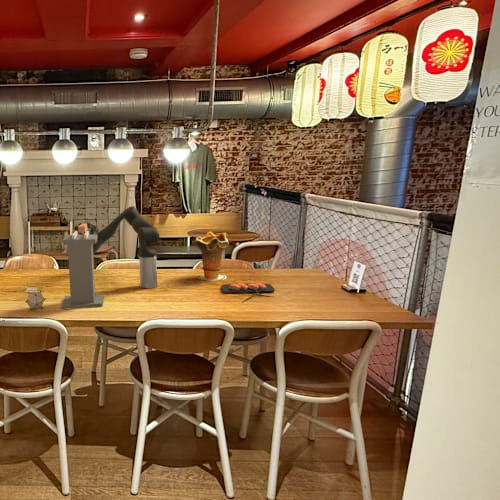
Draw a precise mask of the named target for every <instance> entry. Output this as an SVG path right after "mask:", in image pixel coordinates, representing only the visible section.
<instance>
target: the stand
mask: <svg viewBox="0 0 500 500" xmlns="http://www.w3.org/2000/svg"><path fill="white" fill-rule="evenodd" d="M97 242H98V240H97V233H96V234H95V233H94V234H92V235H89V231H86V233H85V234H84V235H79V234H78V232H77V231H75V232H74V233H73V232H72V234H66V235H65V236H64V238H63V239H62V245H67V256H68V257H67V258H68V259H67V261H68V275H69V292H70V293H69V294H70V295H68V296H64V298H63V301H62V303H61V305H60V309H61V310H66V309H67V308H70V309H82V308H101V307H103V306H104V298H105V295H104V293H102V294H96V292H95V291H96V288H95V269H94V268H95V267H94V265H95V263H94V254H93V244H96V243H97ZM67 310H68V309H67Z"/></svg>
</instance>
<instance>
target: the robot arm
mask: <svg viewBox="0 0 500 500" xmlns="http://www.w3.org/2000/svg"><path fill="white" fill-rule="evenodd" d="M123 220H125V221H126V223H127V225H129V226H131V228H132V229H133V231H134V232H135V233H136V234H137V239H138V254H139V256H138V258H139V287H140V288H141V289H142V288H143V289H153V288H157V287H158V270H157V264H158V263H157V251H156V250H155V249H151V248H148V247H147V245H154V244H157V243H159V241H160V237H161V236H160V232H159V230H158V229H157V227H156V226H154V225H152V224H151V223H149V221H148V220H147V219H146V218H144V217H142V216H141V214H140V212H139V210H138V209H137V208H136V207H135V206H129V207H127V208H125V209H124V210H123V211H122V212H121V213H120V214H119V215H117V216H116V217H115V218H114V219H113V220H112V221H110V223H109V224H108V225H107V226H105V227H104V228H102V229H100V231H99V228H98V227H97V226H96V225H94V224H91V223H89V222H86V224H87V227H88V230H87V231H89V235H92V234H95V233H96V234H97V241H96V244H93V255H94V254H96V253H97V252H98V250H100V248H101V247H102V245H104V244H105V243H106V242H107V241H108V240H110V239H111V238H113V236H114V235H115V234H116V232H117V229H118V228H119V225H120V224H121V222H123ZM81 224H83V222H79V223H78V225H75V226H74V228H73V229H72V234H73V233H74V232H75V231H77V235H84V234H85V233H86V232H81V233H78V226H80V225H81Z"/></svg>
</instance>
